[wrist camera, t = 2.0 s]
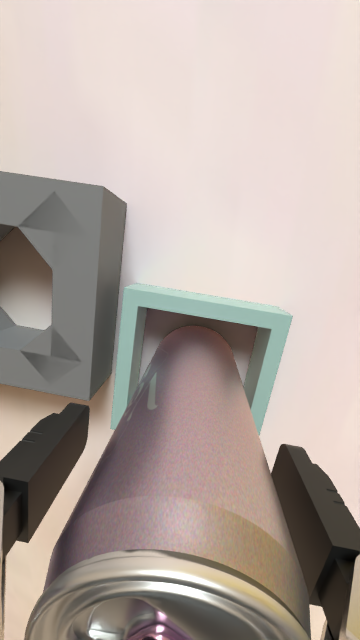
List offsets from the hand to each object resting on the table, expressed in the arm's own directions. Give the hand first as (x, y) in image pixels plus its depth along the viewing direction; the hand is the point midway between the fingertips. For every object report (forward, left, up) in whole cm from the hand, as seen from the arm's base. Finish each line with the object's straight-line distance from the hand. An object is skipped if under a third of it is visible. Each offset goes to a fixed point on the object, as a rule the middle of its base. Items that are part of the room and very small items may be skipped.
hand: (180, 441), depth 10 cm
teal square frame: (0, 0, -9) cm, 9 cm away
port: (+13, -4, -9) cm, 16 cm away
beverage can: (0, 0, -9) cm, 9 cm away
